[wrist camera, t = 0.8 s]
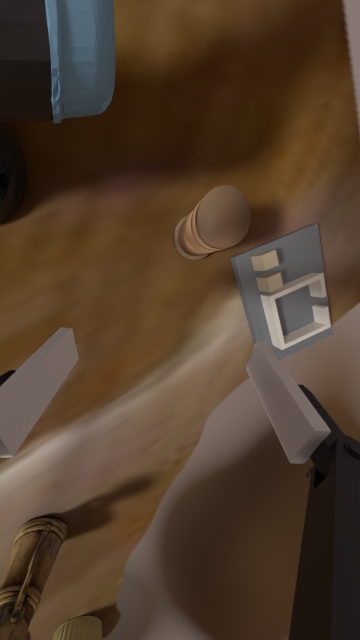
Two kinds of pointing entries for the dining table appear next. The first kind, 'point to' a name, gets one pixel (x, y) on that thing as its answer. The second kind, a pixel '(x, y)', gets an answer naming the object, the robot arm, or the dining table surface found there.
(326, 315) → the board
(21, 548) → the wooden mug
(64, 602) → the dining table surface
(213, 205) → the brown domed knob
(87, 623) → the potted cactus
